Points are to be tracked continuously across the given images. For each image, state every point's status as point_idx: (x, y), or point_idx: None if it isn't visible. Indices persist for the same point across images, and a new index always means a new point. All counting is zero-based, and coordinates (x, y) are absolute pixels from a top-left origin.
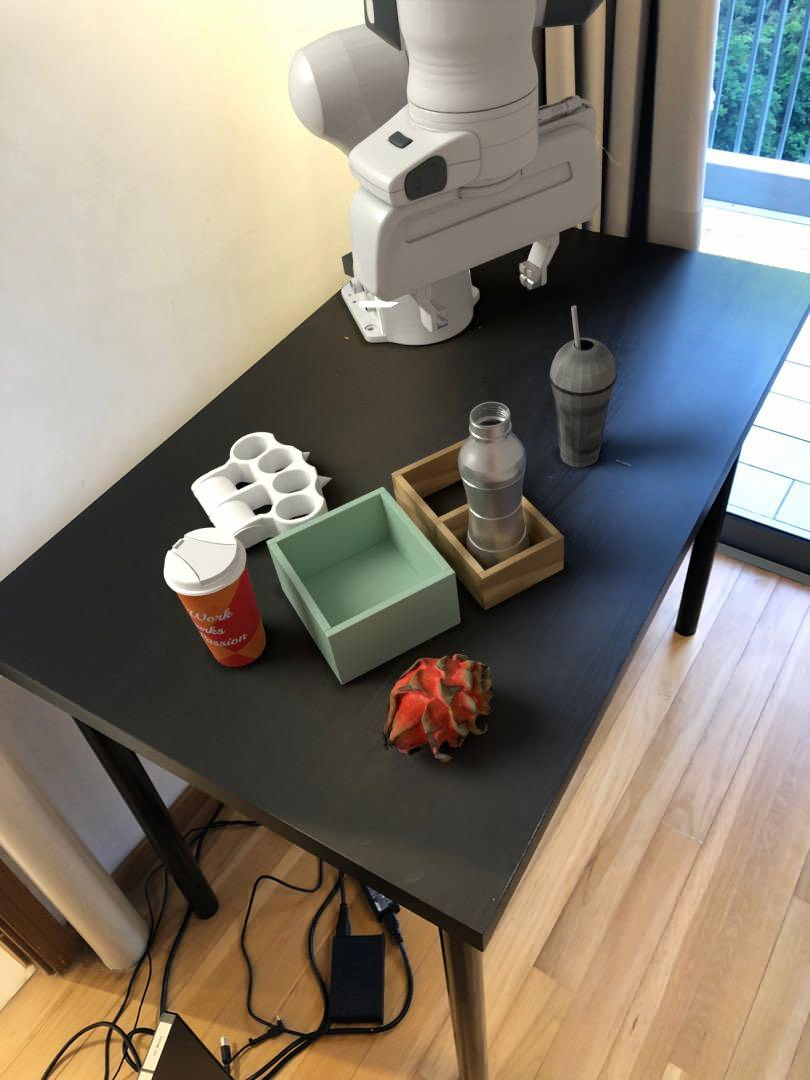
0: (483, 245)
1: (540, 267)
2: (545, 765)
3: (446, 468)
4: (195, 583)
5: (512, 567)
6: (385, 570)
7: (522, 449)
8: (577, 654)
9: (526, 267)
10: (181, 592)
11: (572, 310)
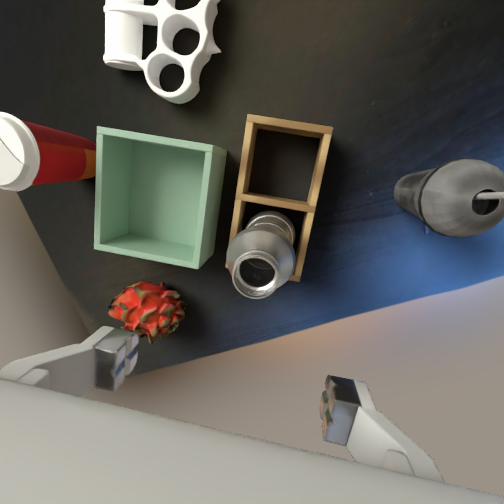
0: None
1: (348, 447)
2: (187, 353)
3: (301, 132)
4: None
5: None
6: (198, 181)
7: (281, 284)
8: (251, 321)
9: (333, 419)
10: None
11: None
